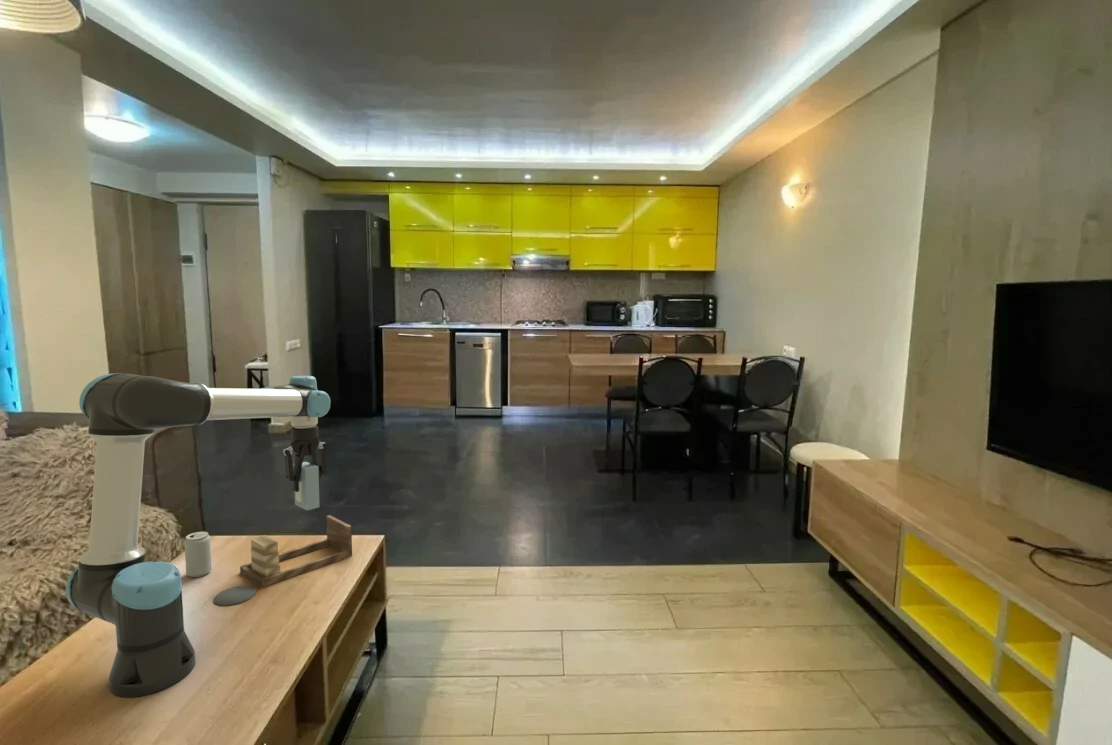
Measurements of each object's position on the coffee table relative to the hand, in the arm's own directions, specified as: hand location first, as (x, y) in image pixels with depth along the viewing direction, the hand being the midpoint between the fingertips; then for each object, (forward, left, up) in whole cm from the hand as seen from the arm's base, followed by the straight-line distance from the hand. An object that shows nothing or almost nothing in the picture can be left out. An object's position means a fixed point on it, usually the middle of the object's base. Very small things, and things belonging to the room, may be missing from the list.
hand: (306, 498), depth 172 cm
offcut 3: (-13, 0, -20) cm, 24 cm away
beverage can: (-26, +16, -20) cm, 36 cm away
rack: (-3, 0, -20) cm, 20 cm away
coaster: (-24, -6, -20) cm, 32 cm away
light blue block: (0, 0, -2) cm, 2 cm away
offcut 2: (-13, 0, -16) cm, 21 cm away
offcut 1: (-13, 0, -12) cm, 18 cm away
